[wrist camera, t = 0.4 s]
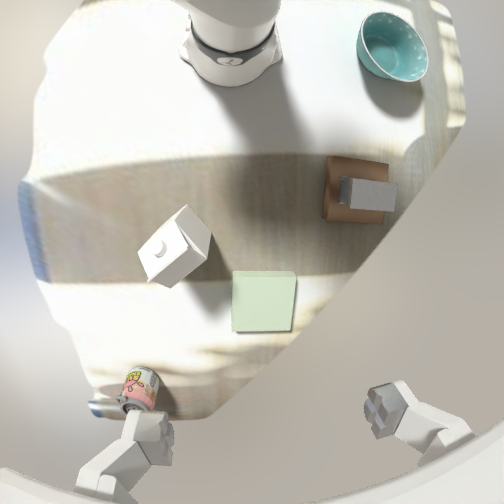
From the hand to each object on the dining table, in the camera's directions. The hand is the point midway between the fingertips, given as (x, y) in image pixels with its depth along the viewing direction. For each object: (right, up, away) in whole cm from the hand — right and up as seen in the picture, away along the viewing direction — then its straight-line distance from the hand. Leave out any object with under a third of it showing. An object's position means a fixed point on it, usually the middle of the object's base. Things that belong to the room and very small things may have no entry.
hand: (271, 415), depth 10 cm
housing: (+19, +18, +41) cm, 49 cm away
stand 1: (+1, -3, +49) cm, 49 cm away
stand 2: (+19, +19, +44) cm, 51 cm away
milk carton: (-13, +10, +43) cm, 47 cm away
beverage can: (-28, -25, +53) cm, 65 cm away
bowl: (+25, +47, +35) cm, 64 cm away
